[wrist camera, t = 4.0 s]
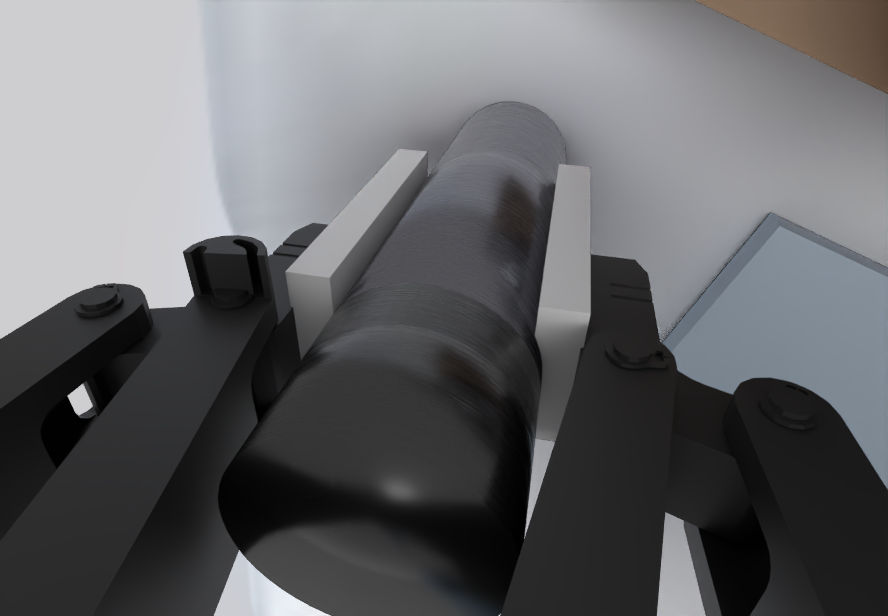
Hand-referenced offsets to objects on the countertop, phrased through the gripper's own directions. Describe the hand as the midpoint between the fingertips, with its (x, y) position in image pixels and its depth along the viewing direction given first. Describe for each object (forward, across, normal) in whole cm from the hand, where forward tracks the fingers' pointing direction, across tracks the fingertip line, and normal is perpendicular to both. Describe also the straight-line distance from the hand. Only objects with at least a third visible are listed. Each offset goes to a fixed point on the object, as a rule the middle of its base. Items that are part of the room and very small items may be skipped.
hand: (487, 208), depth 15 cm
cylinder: (+4, 0, 0) cm, 4 cm away
